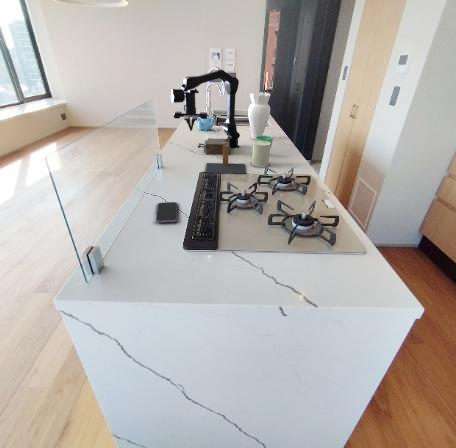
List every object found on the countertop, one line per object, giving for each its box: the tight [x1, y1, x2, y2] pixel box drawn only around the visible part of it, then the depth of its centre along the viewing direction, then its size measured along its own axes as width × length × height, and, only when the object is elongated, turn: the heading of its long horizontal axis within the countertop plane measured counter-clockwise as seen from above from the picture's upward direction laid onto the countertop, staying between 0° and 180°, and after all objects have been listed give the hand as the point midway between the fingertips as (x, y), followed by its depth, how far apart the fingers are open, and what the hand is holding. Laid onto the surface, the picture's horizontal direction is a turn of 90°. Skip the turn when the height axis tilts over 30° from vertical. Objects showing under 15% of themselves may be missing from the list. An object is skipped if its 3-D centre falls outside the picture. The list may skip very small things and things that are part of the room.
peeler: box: [222, 142, 230, 165], centre depth 148 cm, size 3×3×12 cm
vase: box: [247, 91, 271, 141], centre depth 193 cm, size 15×15×29 cm
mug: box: [255, 134, 274, 149], centre depth 167 cm, size 15×10×10 cm
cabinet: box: [206, 137, 231, 156], centre depth 171 cm, size 14×13×6 cm
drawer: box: [197, 139, 207, 153], centre depth 171 cm, size 16×11×4 cm
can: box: [250, 140, 272, 168], centre depth 150 cm, size 9×9×12 cm
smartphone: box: [155, 201, 178, 224], centre depth 105 cm, size 7×1×15 cm
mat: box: [205, 162, 247, 175], centre depth 147 cm, size 20×14×1 cm
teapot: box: [196, 114, 215, 132], centre depth 217 cm, size 13×13×10 cm
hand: (191, 130), depth 166 cm, fingers closed
